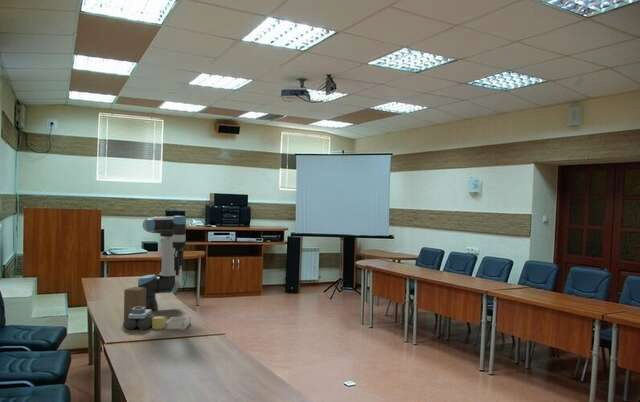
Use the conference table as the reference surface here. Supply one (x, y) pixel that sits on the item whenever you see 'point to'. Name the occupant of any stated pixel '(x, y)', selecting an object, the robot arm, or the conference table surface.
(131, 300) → the block
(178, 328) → the tray
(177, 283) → the pin
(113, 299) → the conference table surface
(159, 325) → the yellow cube
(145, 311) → the grey plate on cylinders
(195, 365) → the conference table surface
